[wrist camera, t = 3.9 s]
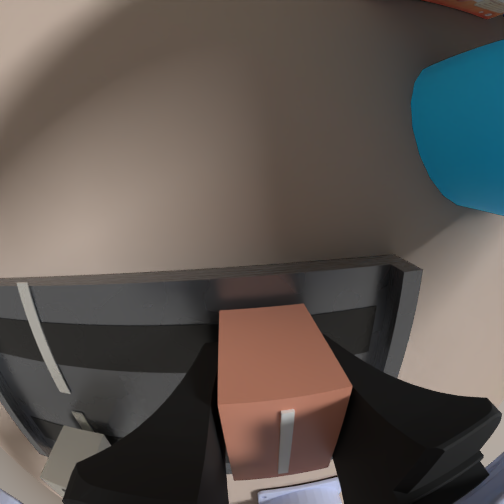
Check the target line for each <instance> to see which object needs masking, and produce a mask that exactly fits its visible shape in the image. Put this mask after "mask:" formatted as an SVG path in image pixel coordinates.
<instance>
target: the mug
mask: <svg viewBox="0 0 504 504" xmlns="http://www.w3.org/2000/svg"><path fill="white" fill-rule="evenodd" d="M411 111H412V127H413V132H414V135H415V139H416V143H417V147H418V151H419V155H420V157H421V159H422V161H423V163H424V166H425V168H426V170H427V172H428V175H429V177H430V179H431V180H432V181H433V183H434V184H435V185H436V187H437V188H438V189H439V191H440V192H441V193H442V195H443V196H445V197H446V198H447V199H449V200H450V201H452V202H453V203H455V204H456V205H459V206H464V207H468V208H473V209H477V210H481V211H486V212H490V213H494V214H498V215H502V216H504V39H503V40H500V41H496V42H493V43H490V44H487V45H484V46H481V47H478V48H475V49H472V50H469V51H466V52H464V53H461V54H458V55H455V56H453V57H450V58H448V59H445V60H443V61H440V62H438V63H435V64H433V65H431V66H429V67H427V68H425V69H423V70H422V72H421V73H420V75H419V76H418V78H417V80H416V81H415V83H414V88H413V94H412V100H411Z"/></svg>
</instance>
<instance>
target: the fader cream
mask: <svg viewBox="0 0 504 504" xmlns="http://www.w3.org/2000/svg"><path fill="white" fill-rule="evenodd" d="M110 446H111V445H110V443H109V442H108V440H107V439H106V437H105V435H104V434H100V433H95V432H90V431H86V430H81V429H77V428H73V427H69V426H65V425H64V426H63V428H62V430H61V432H60V434H59V436H58V438H57V440H56V442H55V445H54V447H53V449H52V451H51V453H50V455H49V458H48V460H47V462H46V464H45V467H44V469H43V471H42V474H41V476H40V478H41V479H42V480H43V481H44V482H45V483H46V484H48V485H49V486H50V487H51V488H52V489H53V490H54V491H56V492H57V493H58V494H59V495H60V496H61V497H64V494H65V491H66V488H67V485H68V482H69V479H70V476H71V473H72V471H73V469H74V467H75V465H76V463H77V462H79V461H82V460H84V459H86V458H88V457H90V456H92V455H94V454H96V453H99V452H101V451H102V450H104V449H106V448H108V447H110Z"/></svg>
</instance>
